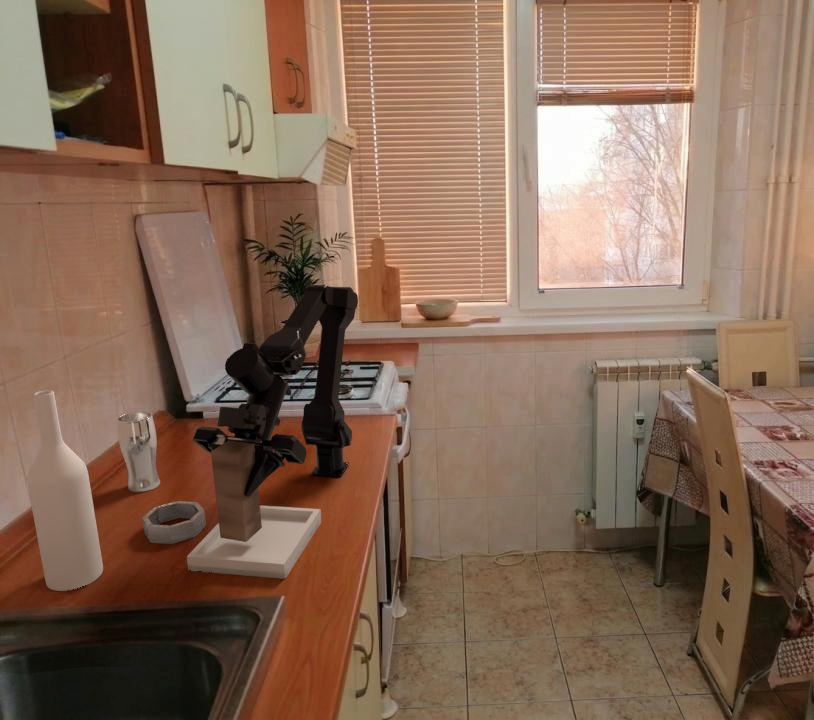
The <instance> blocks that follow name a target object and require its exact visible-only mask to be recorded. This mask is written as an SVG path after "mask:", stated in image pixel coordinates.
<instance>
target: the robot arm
mask: <svg viewBox="0 0 814 720" xmlns="http://www.w3.org/2000/svg"><path fill="white" fill-rule="evenodd" d="M358 304H359V297H358V294H357V292H356V291H355V292H354V289H353V288H352V287H351V286H330V285H327V284H309V285H306V286H305V287H304V288H303V292H302V296H301V298H300V299H299V301H298V303H297V304H296V306H295V308H294V309H293V311H292V312H291V314H290V315H289V317H288V319H287V320H286V321H285V324H284V325H283V326H282V328H281V329H280V330H279V331H276V332H274V333H272V334H270V335H269V336H268V337H267V338H266V339H265V340H264V341H263V342H262V344H261V345H260V347H259V346H258V345H257V343H255V342H244V344H243V345H242V348H240V349H237V350H235V351H234V352H233V353H231V354H230V356H228V358H227V359H226V360H225V363H224V370H225V373H226V374H227V375H228V376H229V377H230V378H231V379H232V380H233V382H235V384H237V385H238V387H239V388H240V389H241V390H242V391H243V392H244V393H247V394H249V395H248V397H247V401H246V403H241V404H240V405H239V406H238V407H231V406H230V407H228V406H219V407H220V408H219V413H218V418H217V424H216V425H217V427H214V426H213V427H212V426H204V425H203V426H202V425H201V426H199V427H198V428H196V429H195V432H194V434H193V436H192V439H191V440H192V441H193V443H195V444H196V445H198V446H199V447H200V448H202V449H203V450H204V451H206V452H207V453H209V454H211V451H213V450H214V449H216V448H218V447H219V446H221V445H222V444H224V443H225V442H227V441H236V442H245V443H254V448H255V463H254V465H253V468H252V471H251V474H250V477H249V479H248V482H247V485H246V489H245V493H244V495H245V496H247V497H249V496H250V495H251V494H252V493H253V492H254V491H255V490H256V489H257V488H258V489H259V487H261V485H262V484H263V483H264V482H265V481H266V480H267V479H268V477H270V476H272V474H273V473H275V471H277V470H278V468H280V467H285V465H286V463H285V462H284V460H286V462H287V463H288V464H289V463H291V464H297V465H303V464H305V462H306V461H305V460H306V458H307V455H308V454H307V448H306V447H305V445H306V446H307V445H308V446H310V445H311V446H315V447H314V448H315V460H316V466H315V467H314V469H313V470H311V471H312V472H311V476H319V477H321V476H322V477H336V476H340V477H342V476H343V475H342V473H343V472H344V471H345V472H346V470H347V469H346V467H347V466H348V464H349V465H350V463H349V462H345V461H344V448H346V447H350V446H351V442H352V440H353V439H352V438H353V430H352V429H351V428H350V426H349V425H348V424H347V422H346V421H345V410H344V409H343V407H342V404H341V402H340V400H339V396H340V395H339V393H340V383H341V374H342V373H341V372H342V364H343V354H344V345H345V337H346V335H345V333H346V330H347V328H348V327H349V326H350V325H351V323H352V322H353V320H354V319H355V315H356V310H357V308H358ZM318 322H319V324H320V326H321V334H320V341H319V342H320V343H319V352H318V353H319V354H318V360H317V361H318V363H317V372H316V380H315V392H314V397H313V398H312V400H311V401H310V402H309V403H305V405H304V406H303V417H302V420H301V432H302V436H303V439H304V442H305V445H304V444H303V443H302V442H301V441H300V440H299V439H298V438H297V437H296V436H295V435H289V434H282V433H281V434H280V433H275V434H274V435H273V431H274V428H275V426H276V427H277V426H280V424H281V419H280V418H279V415H280V411H281V408H282V405H283V402H284V399H285V397H286V396H289V397H290V396H292V389H291V387H290V386H289V381H288V380H286V379H283V377H281V375H282V376H283V375H285V376H296V375H298V373H299V372H300V371H301V369H302V367H303V365H304V362H305V359H306V356H307V353H306V350H305V345H306V343H307V341H308V340H309V338H310V336H311V334H312V333H313V331H314V329H315V327H316V325H317V323H318ZM221 427H222V428H224V427H228V428H227V431H228V432H230V433H231V434H234V435H233V436H232V435H227V434H226V433H225V432H224V431H223V430H221ZM346 463H348V464H346ZM348 467H349V466H348ZM348 467H347V468H348ZM345 469H346V470H345ZM345 472H344V473H345ZM344 473H343V474H344ZM341 475H342V476H341Z"/></svg>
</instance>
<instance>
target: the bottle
mask: <svg viewBox="0 0 814 720" xmlns="http://www.w3.org/2000/svg"><path fill="white" fill-rule="evenodd" d="M33 401H34V405H35V412H36V417H37V423H38V429H39V435H40V442H41V444H40V448H39V450H38V452H37V455H36V456H35V459H34V461H33V463H32V465H31V466H30V468H29V471H28V474H27V478H26V481H27V489H28V494H29V499H30V505H31V510H32V516H33V521H34V526H35V531H36V532H35V533H36V537H37V538H36V539H37V544H38V547H39V552H40V554H39V555H40V558H41V563H42V570H43V576H44V580H45V585H46V587H47V588H48V589H50V590H52V591H55V592H67V591H68V590H69V591H73V589H74V590H78V589H81V588H83V587H82V586H84V587H86V586H88V585H90V584H92V583H93V582H95V581H96V580H97V579H99V577H100V576H101V575H102V574H103V571H104V565H103V559H102V552H101V551H102V550H101V547H100V546H101V545H100V539H99V538H100V537H99V532H98V528H97V527H98V526H97V522H96V515H95V514H96V513H95V507H94V502H93V501H94V500H93V495H92V489H91V484H90V482H91V481H90V478H89V477H90V476H89V471H88V468H87V466H86V463H85V462H84V461H83V459H82V458H81V457H80V456H78V455H77V454H76V453H75V451H73V449H71V448H70V446H68V445H67V444H66V443H65V442H64V438H63V436H62V432H61V431H62V430H61V425H60V421H59V420H60V418H59V415H58V408H57V401H56V396H55V392H54V390H52V389H51V390H39V391H37V392H35V393H34V394H33ZM85 585H86V586H85ZM80 587H81V588H80ZM77 588H78V589H77Z"/></svg>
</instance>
